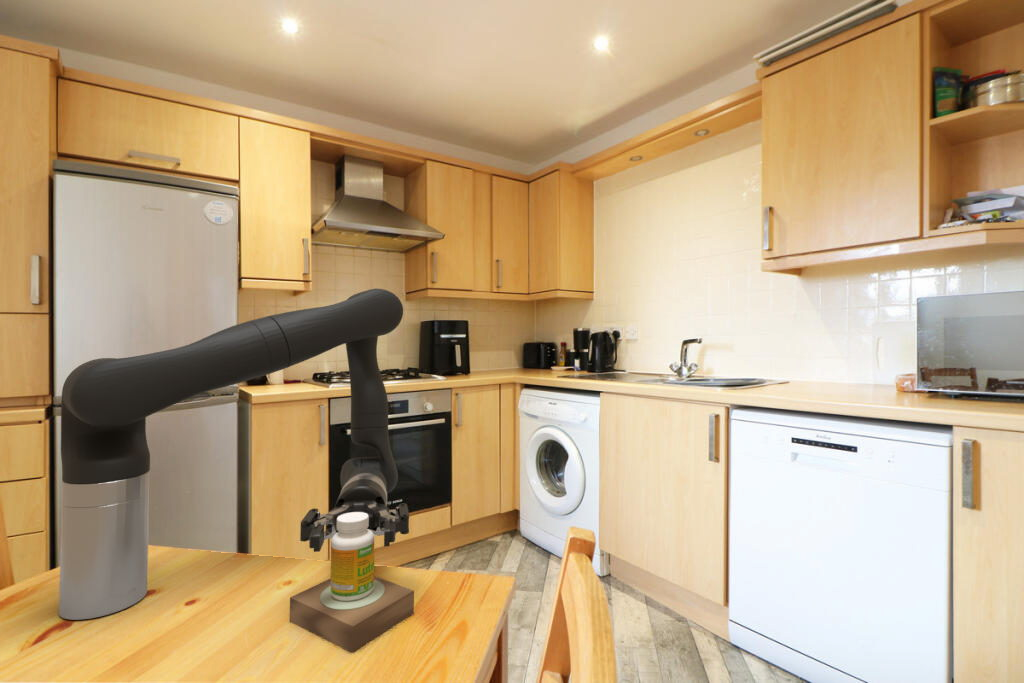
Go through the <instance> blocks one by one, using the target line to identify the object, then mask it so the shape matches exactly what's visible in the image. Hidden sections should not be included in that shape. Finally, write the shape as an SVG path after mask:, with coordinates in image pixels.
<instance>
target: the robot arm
mask: <svg viewBox="0 0 1024 683" xmlns="http://www.w3.org/2000/svg"><path fill="white" fill-rule="evenodd" d="M403 316H404V306H403V304H402V301H401V300H400V298H399V297H398V296H397V295H396V294H395V293H394V292H391V291H389V290H387V289H384V288H371V289H370V288H369V289H367V290H364V291H360V292H358V293H355V294H353V295H351V296H349V297H348V298H347V299H345V300H343V301H341V302H337V303H333V304H329V305H325V306H318V307H311V308H305V309H304V308H303V309H298V310H292V311H287V312H286V311H285V312H281V313H277V314H271V315H267V316H262V317H260V318H256V319H251V320H248V321H245V322H240V323H239V324H235V325H232V326H229V327H226V328H224V329H221V330H219V331H216V332H215V333H212V334H210V335H208V336H206V337H204V338H201V339H199V340H197V341H195V342H191V343H189V344H186V345H183V346H179V347H176V348H172V349H166V350H163V351H162V350H161V351H158V352H157V351H156V352H152V353H147V354H142V355H135V356H128V357H120V358H115V357H101V358H96V359H92V360H89V361H86V362H84V363H82V364H79V366H77V367H76V368H74V369H73V370H72V371H71V372H70V373H69V375H68V376H67V377H66V378H65V380H64V383H63V385H62V390H61V403H60V404H61V407H60V409H61V410H60V456H61V458H60V459H61V468H62V469H61V473H62V475H61V518H60V519H61V520H60V522H61V525H60V527H61V528H60V553H59V554H60V556H59V557H60V560H59V591H58V593H59V594H58V595H59V596H58V598H59V599H58V616H60V617H61V618H62V619H65V620H72V621H73V620H75V621H76V620H77V621H78V620H87V619H88V620H90V619H94V618H100V617H103V616H108V615H112V614H114V613H117V612H119V611H123V610H125V609H127V608H129V607H131V606H133V605H135V604H137V603H138V602H140V601H141V600H142V599H144V598H145V596H146V595H147V592H148V569H149V568H148V564H149V533H150V532H149V529H150V528H149V525H150V524H149V523H150V519H149V518H150V484H151V483H150V480H151V478H150V477H151V476H150V475H151V472H150V471H151V470H150V469H151V453H150V449H149V445H148V440H147V433H146V432H147V430H146V429H147V428H146V427H147V425H146V424H147V423H146V421H147V417H149V416H151V415H153V414H156V413H158V412H160V411H163V410H165V409H166V408H169V407H172V406H174V405H176V404H179V403H182V402H183V401H185V400H188V399H190V398H192V397H195V396H197V395H201V394H203V393H206V392H207V393H208V392H211V391H213V390H218V389H221V388H226V387H230V386H234V385H237V384H240V383H244V382H247V381H251V380H254V379H258V378H261V377H264V376H267V375H270V374H274V373H276V372H280V371H282V370H285V369H288V368H290V367H292V366H295V365H297V364H301V363H303V362H306V361H308V360H310V359H312V358H315V357H317V356H319V355H321V354H323V353H326V352H329V351H331V350H333V349H335V348H337V347H339V346H342V345H345V348H346V356H347V357H346V358H347V362H348V363H347V364H348V372H349V383H350V384H349V385H350V439H351V442H352V443H353V444H355V445H358V446H364V447H365V446H366V447H370V448H372V449H374V450H375V451H376V452H377V454H378V456H365V457H353V458H349V459H347V460H346V461H345V462H344V463H343V464H342V466H341V470H340V474H339V476H340V481H339V482H340V486H341V490H340V493H339V495H338V497H337V500H336V503H335V505H334V508H333V509H331V510H330V511H329V512H327V513H321V512H320V511H319V508H315V507H314V508H311V509H309V510H308V512H306V514H305V515H304V517H303V518H302V520H300V530H299V531H300V535H299V536H300V537H299V538H300V539H299V541H300V542H308V541H309V542H308V543H309V546H308V547H309V549H313V552H314V553H317V552H320V551H321V549H322V547H323V545H324V543H325V541H326V540H328V539H330V540H332V538H333V536H334V535H335V534H336V533H337V532H339V531H338V530H337V527H336V526H337V517H338V516H340V515H342V514H345V513H351V512H363V513H367V514H368V516H369V526H368V528H367V529H369V530H371V531H372V532H373V534H374V536H377V537H380V536H383V547H390V545H391V543H394V542H396V535H397V533H400V534H401V535H408V534H410V528H409V527H410V526H409V524H410V523H409V522H410V521H409V520H410V513H409V507H408V504H407V503H404V502H403V503H402V502H401V503H399V504H398V506H396V507H395V508H394V509H390V508H389V507H388V494H389V493H391V492H392V491H394V490H395V487H396V486H397V484H398V479H399V473H398V469H397V465H396V462H395V461H396V460H395V459H394V456H393V452H392V448H391V443H390V436H389V434H390V433H389V402H388V394H387V391H386V387H385V386H386V385H385V383H384V380H383V378H382V375H381V371H380V368H379V362H378V357H377V356H378V354H377V348H378V338H379V337H381V336H385V335H388V334H390V333H392V332H393V331H394V330H396V329H397V327H398V326H399V325H400V323H401V321H402V319H403Z"/></svg>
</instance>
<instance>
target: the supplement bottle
mask: <svg viewBox="0 0 1024 683" xmlns="http://www.w3.org/2000/svg"><path fill="white" fill-rule="evenodd" d="M368 526H369V516H368V514H367V513H363V512H351V513H345V514H342V515H340V516H338V517H337V526H336V527H337V529H336V530H338V531H339V532H337V533H336V534H335V535H334V536H333V538H332V539H330V540H331V541H330V579H331V595H332V596H333V597H334V598H335V599H337V600H341V601H351V600H357V599H360V598H363V597H365V596H367V595H369V594H370V593H371V592H372V590H373V588H374V576H375V534H373V532H372V531H371V530H369V529H367V528H368Z"/></svg>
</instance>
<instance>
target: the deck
mask: <svg viewBox="0 0 1024 683" xmlns="http://www.w3.org/2000/svg"><path fill="white" fill-rule="evenodd" d="M414 609H415V590H414V589H411V588H409V587H405V586H403V585H400V584H398V583H394V582H392V581H389V580H387V579H384V578H381V577H379V576H376V575H374V588H373V590H372V592H371V593H370V594H369V595H367V596H365V597H363V598H360V599H357V600H351V601H341V600H337V599H335V598H334V597H333V596H332V595H331V578H329V579H327V580H324V581H322V582H320V583H318V584H316V585H313V586H311V587H309V588H307V589H306V590H303V591H300V592H298V593H296V594H294V595H292V596H290V597H289V622H290V623H293V624H294V625H296V626H298V627H301V628H302V629H305V630H306V631H309V632H311V633H312V634H314V635H316V636H319V637H320V638H322V639H324V640H326V641H328V642H330V643H333V644H334V645H336V646H338V647H340V648H342V649H345V650H346V651H347V652H349V653H352V654H353V653H355V652H356V651H358V650H359V649H361V648H362V647H364V646H365V645H367V644H369V643H370V642H372V641H373V640H375V639H376V638H378V637H379V636H381V635H383V634H384V633H386V632H387V631H389V630H390V629H392V628H393V627H395V626H396V625H398V624H399V623H401V622H403V621H404V620H406V619H408V618H409V617H410V616H412V615H414V614H415V610H414Z"/></svg>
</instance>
